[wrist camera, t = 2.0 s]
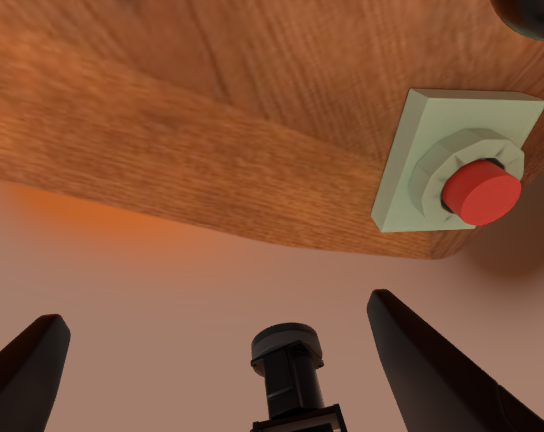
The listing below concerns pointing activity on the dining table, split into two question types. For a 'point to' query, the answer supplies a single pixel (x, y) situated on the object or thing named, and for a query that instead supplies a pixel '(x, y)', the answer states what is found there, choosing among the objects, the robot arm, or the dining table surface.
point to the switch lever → (522, 16)
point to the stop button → (480, 192)
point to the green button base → (448, 151)
